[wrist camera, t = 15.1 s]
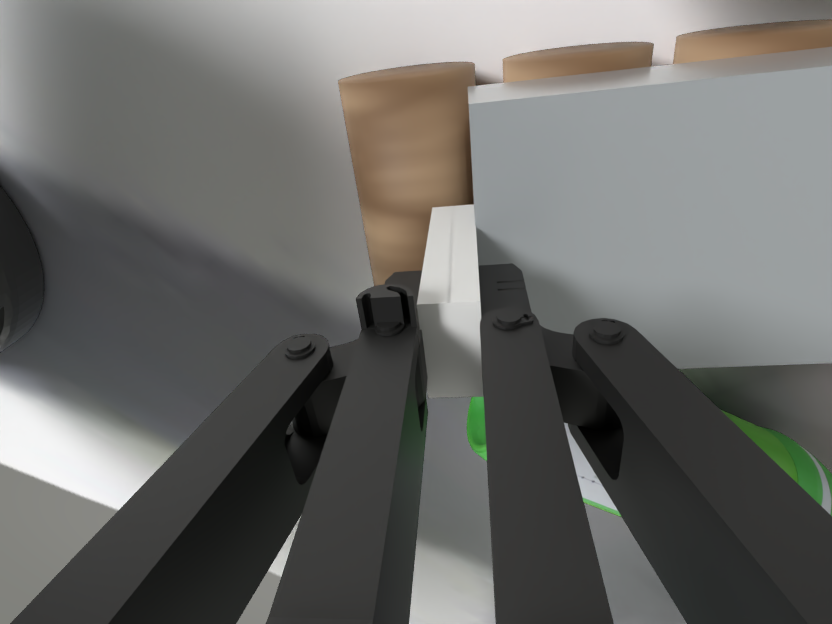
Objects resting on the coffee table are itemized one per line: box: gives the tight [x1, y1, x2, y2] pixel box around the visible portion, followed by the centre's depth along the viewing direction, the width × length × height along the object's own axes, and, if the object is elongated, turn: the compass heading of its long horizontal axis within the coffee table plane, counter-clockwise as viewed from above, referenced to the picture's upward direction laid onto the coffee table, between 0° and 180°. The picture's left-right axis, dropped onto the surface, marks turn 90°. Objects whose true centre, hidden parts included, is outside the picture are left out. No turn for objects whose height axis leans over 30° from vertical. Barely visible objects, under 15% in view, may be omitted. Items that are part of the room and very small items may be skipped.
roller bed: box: [338, 20, 832, 286], centre depth 20 cm, size 17×10×5 cm, turn 97°
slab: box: [468, 47, 832, 369], centre depth 16 cm, size 18×9×4 cm, turn 96°
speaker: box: [467, 397, 832, 517], centre depth 25 cm, size 18×7×8 cm, turn 65°
